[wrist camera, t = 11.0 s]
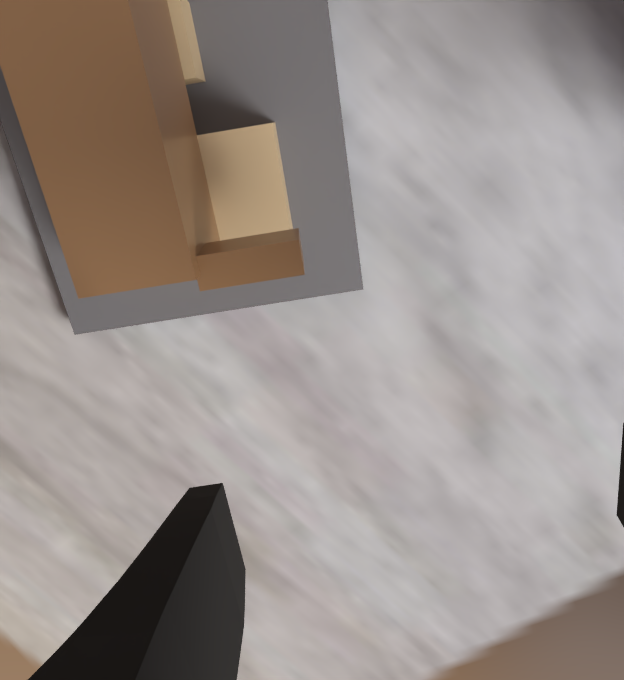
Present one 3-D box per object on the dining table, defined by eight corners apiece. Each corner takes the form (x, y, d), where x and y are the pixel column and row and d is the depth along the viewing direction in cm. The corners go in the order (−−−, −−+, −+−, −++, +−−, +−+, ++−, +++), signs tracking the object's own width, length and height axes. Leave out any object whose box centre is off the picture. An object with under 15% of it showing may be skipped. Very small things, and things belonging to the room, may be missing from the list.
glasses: (209, -330, 11) (165, -561, 7) (302, 242, 15) (305, 280, 12) (-26, -284, 11) (-186, -486, 7) (133, 269, 16) (83, 315, 12)
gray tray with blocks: (280, -353, 13) (277, -481, 10) (360, 282, 19) (371, 310, 16) (-121, -275, 13) (-230, -379, 11) (83, 326, 19) (47, 360, 17)
